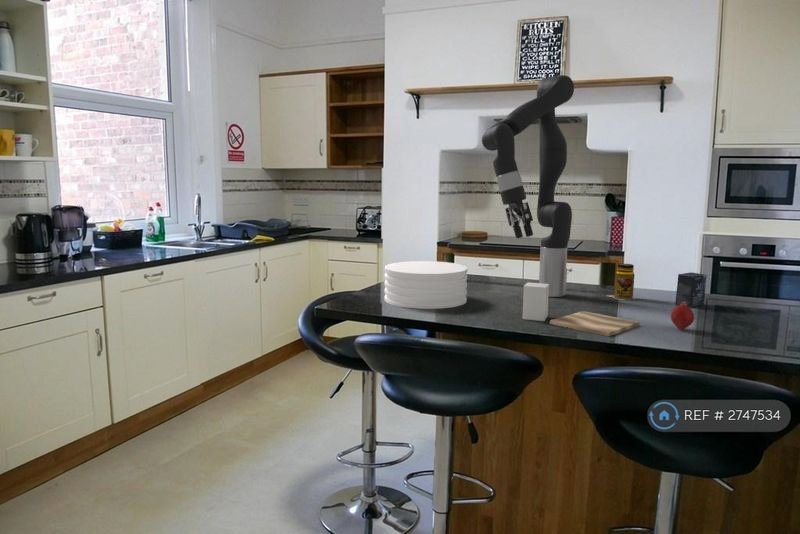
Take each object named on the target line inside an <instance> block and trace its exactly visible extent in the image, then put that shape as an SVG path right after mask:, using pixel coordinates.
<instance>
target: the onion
mask: <svg viewBox="0 0 800 534" xmlns="http://www.w3.org/2000/svg"><path fill="white" fill-rule="evenodd" d="M694 314H695V313H694V311H693V310H692V308H689V307H688V306H687V305H686V302H682V304H680V305H676V306H675V307H674V308H673V309H672V311H671V314H670V320H671V322H672V323H673V325H674V326H675V327H676V328H678V329H679V330H681V331H683V330H685V329H687V328H688V327H690V326H691V325H692V324H693V323H694V320H695V315H694Z"/></svg>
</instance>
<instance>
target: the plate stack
mask: <svg viewBox="0 0 800 534" xmlns="http://www.w3.org/2000/svg"><path fill="white" fill-rule="evenodd" d="M384 272H385V273H384V279H385V280H384V294H385V295H384V302H386V303H387V304H389V305H393V306H396V307H400V308H401V307H402V308H408V309H422V310H423V309H424V310H432V309H433V310H435V309H436V310H437V309H448V308H455V307H459V306H464V304H466V303H467V300H468V298H467V294H468V290H467V287H468V282H467V280H468V274H467V273H468V266H465V265H464V264H463V265H462V264H460V263H454V262H446V261H436V260H435V261H433V260H431V261H430V260H413V261H411V260H410V261H399V262H392V263H389V264H385V265H384Z"/></svg>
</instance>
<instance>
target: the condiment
mask: <svg viewBox="0 0 800 534" xmlns="http://www.w3.org/2000/svg"><path fill="white" fill-rule="evenodd" d="M616 270H617V271H616V272H615V281H614V282H615V284H614V294H612V295H611V294H610V295H609V294H608V295H606V297H608V298H609V297H610V298H612V299H616V300H619V301H630V300H631V301H632V300H637V299H639V298H638V297H634V287H635V272H634V264H633V263H618V264H617V269H616Z"/></svg>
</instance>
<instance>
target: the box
mask: <svg viewBox="0 0 800 534" xmlns="http://www.w3.org/2000/svg"><path fill="white" fill-rule="evenodd" d="M707 276H708V275H707V274H703V273H698V272H692V271H691V272H690V271H689V272H686V273H684V272H683V273H678V276H677V285H676V294H675V305H676V306H678V305H680V304H682V302H686V305H687V306H688V307H689V308H690V309H692V308H696V307H701V306H702V307H703V306H704V305H705V296H706V286H707V285H706V284H707Z"/></svg>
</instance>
